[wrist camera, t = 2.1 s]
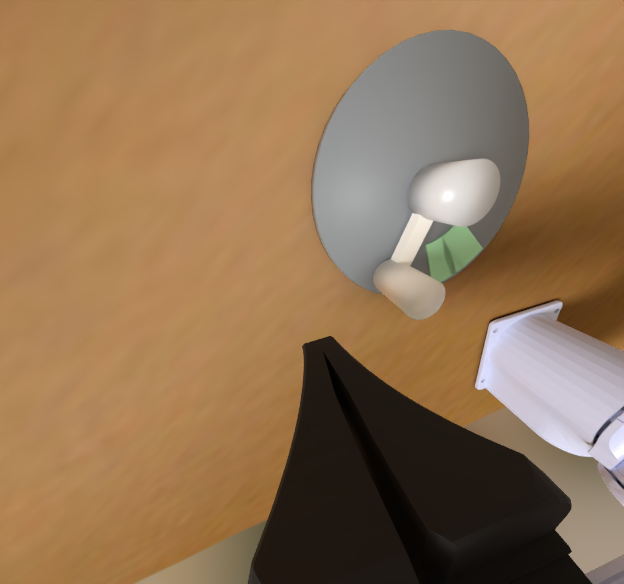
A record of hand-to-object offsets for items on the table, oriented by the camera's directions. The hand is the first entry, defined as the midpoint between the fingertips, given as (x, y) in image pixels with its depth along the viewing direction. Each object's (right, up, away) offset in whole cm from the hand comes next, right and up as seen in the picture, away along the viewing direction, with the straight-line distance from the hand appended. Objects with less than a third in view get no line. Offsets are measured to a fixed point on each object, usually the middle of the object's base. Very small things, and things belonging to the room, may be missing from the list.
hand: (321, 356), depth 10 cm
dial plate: (+6, +9, +4) cm, 12 cm away
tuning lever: (+6, +7, +4) cm, 10 cm away
